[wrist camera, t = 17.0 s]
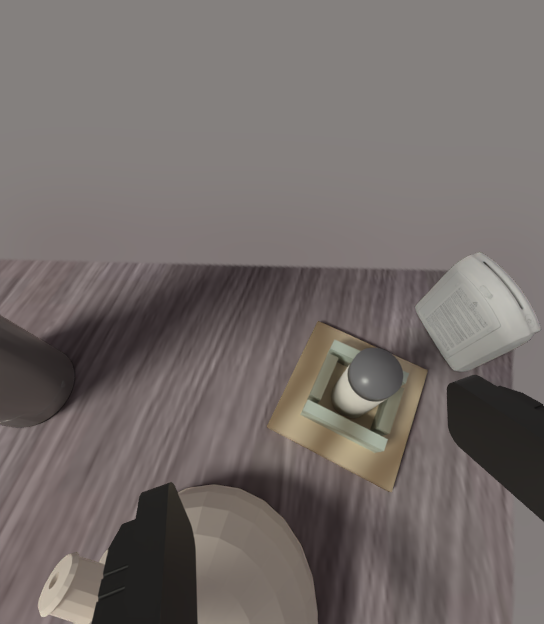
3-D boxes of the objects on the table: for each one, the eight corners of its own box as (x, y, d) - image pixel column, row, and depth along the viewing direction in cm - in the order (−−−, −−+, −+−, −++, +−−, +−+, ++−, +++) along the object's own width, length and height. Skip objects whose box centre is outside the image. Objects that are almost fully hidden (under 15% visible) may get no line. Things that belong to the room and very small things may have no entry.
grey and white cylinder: (324, 405, 37) (343, 381, 28) (340, 372, 39) (362, 339, 30) (361, 425, 36) (393, 407, 27) (376, 390, 38) (410, 361, 29)
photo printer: (483, 365, 40) (566, 325, 29) (453, 378, 40) (527, 341, 28) (436, 296, 44) (493, 237, 33) (408, 306, 44) (457, 249, 33)
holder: (267, 427, 37) (267, 422, 33) (316, 324, 42) (321, 310, 39) (388, 491, 34) (402, 493, 31) (424, 372, 40) (440, 362, 36)
